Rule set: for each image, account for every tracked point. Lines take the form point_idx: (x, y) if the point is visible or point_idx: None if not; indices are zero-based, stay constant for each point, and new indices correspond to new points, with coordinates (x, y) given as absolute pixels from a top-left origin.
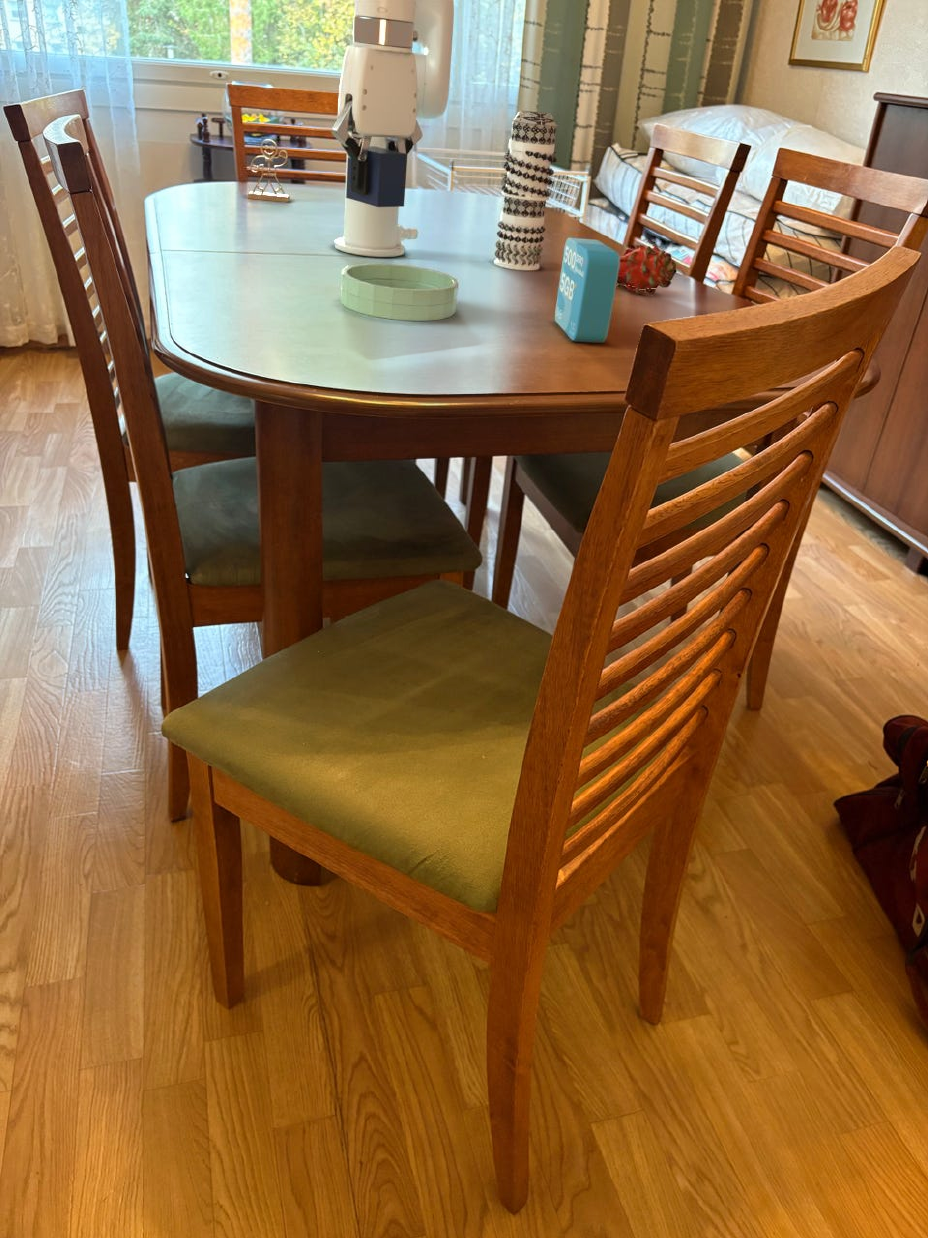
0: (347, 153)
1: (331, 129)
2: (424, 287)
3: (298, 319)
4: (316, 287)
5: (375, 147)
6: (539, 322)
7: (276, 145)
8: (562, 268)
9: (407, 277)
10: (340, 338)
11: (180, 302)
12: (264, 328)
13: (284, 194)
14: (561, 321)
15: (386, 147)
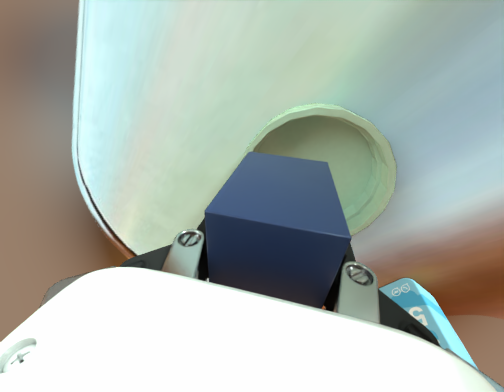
0: (175, 237)
1: (49, 288)
2: (375, 168)
3: (186, 155)
4: (298, 27)
5: (312, 260)
6: (394, 267)
7: None
8: (433, 327)
9: (377, 145)
10: (191, 210)
11: (96, 40)
12: (147, 163)
13: None
14: (387, 290)
15: (338, 291)
